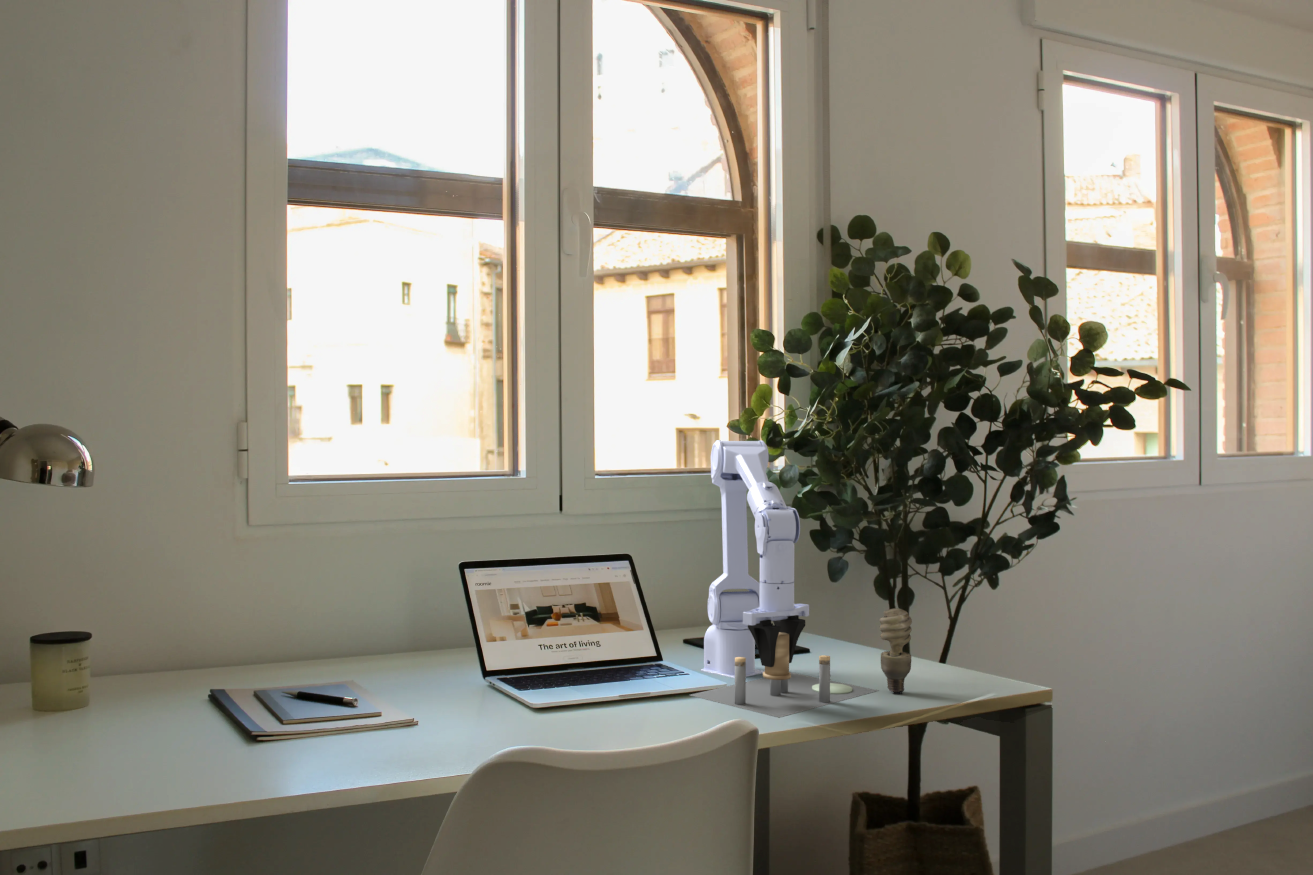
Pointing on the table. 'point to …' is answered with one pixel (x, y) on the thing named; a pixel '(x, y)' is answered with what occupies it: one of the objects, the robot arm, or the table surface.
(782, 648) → the cylinder
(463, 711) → the table surface
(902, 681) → the light bulb
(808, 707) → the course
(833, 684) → the pad
